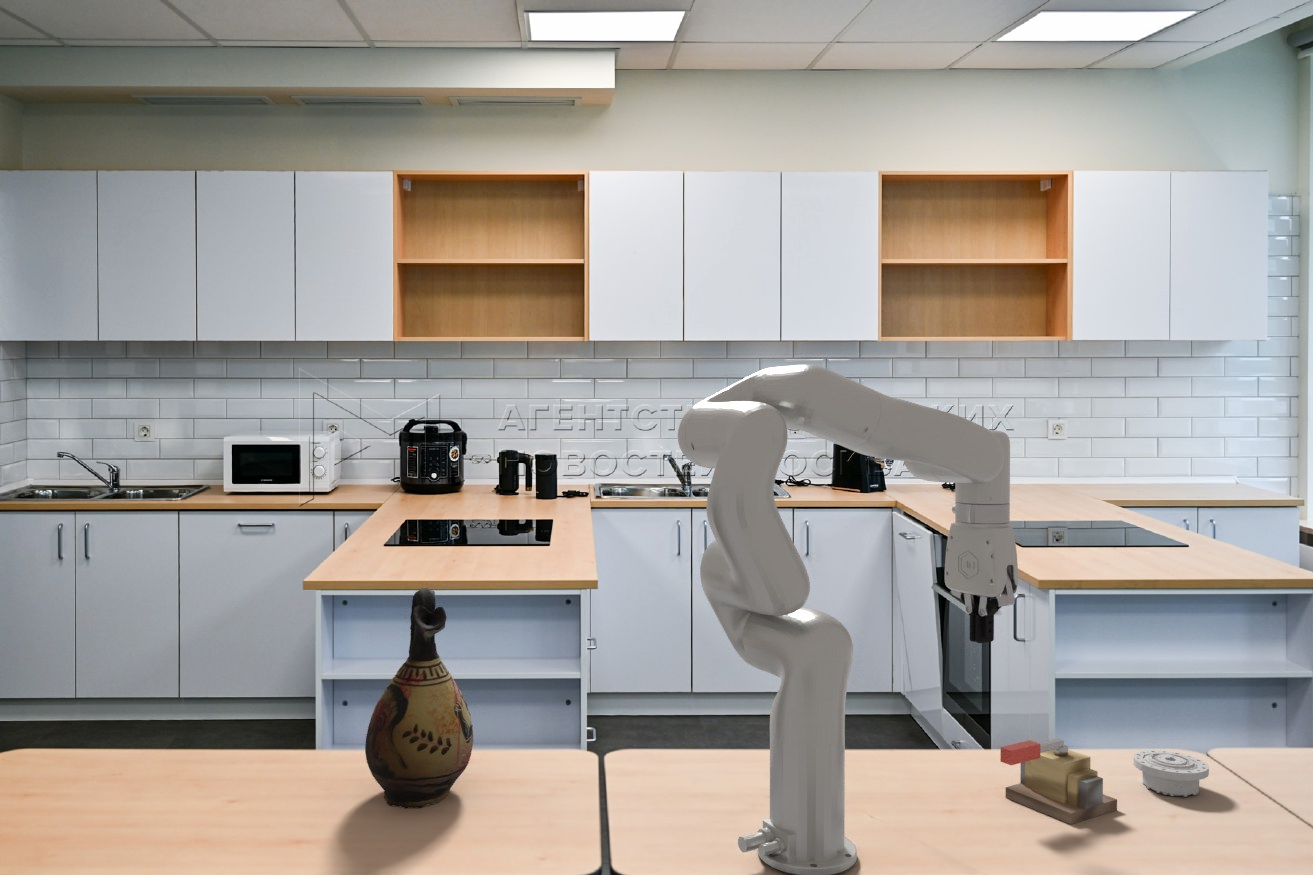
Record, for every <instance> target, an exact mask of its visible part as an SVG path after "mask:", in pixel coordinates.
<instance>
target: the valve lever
mask: <svg viewBox="0 0 1313 875" xmlns="http://www.w3.org/2000/svg"><path fill="white" fill-rule="evenodd" d="M1064 743H1065V740H1064V739H1061V738H1058V737H1057V738H1054V739H1050V740H1045V741H1041V742H1036V741H1034V740H1024V741H1021V742H1017V743H1012V744H1008V745H1004V746H1000V757H999V758H1000V762H1001V763H1003V764H1007V765H1009V766H1015V765H1018V764H1021V763H1023V762H1027V761H1031V760H1035V759H1039V758H1040V753H1043V752H1047V751H1051V750H1053V753H1054V754H1057V755H1063V756H1064V755H1068V750H1069V746H1068V745H1066V744H1064Z"/></svg>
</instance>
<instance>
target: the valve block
mask: <svg viewBox="0 0 1313 875" xmlns="http://www.w3.org/2000/svg"><path fill="white" fill-rule="evenodd" d="M1019 779H1020V783H1015V784H1012V785H1009V786H1006V787H1005V798H1006V799H1009V800H1011V801H1013V802H1016V803H1018V804H1021V805H1022V806H1025V807H1028V808H1030V809H1032V810H1036V811H1038V812H1040V813H1043V814H1045V815H1047V816H1050V817H1052V818H1054V819H1056V820H1059V821H1062V822H1064V823H1067V824H1069V825H1073V824H1076V823H1080V822H1083V821H1086V820H1090V819H1093V818H1095V817H1099V816H1101V815H1106V814H1109V813H1112V812H1114V811H1118V799H1117V798H1114V797H1112V796H1109V795H1106V794H1104V792H1103V790H1104V778H1103V777H1100V776H1098V770H1096V769H1095V770H1094V769H1092V768H1091V756H1088V755H1085V754H1082V753H1080V752H1076V751H1074V750H1071V749H1068V755H1064V756H1063V755H1057V754H1054V753H1053V750H1051V751H1047V752H1043V753H1040V758H1039V759H1035V760H1031V761H1027V762H1023V763H1020V778H1019Z"/></svg>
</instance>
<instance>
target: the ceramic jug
mask: <svg viewBox="0 0 1313 875" xmlns="http://www.w3.org/2000/svg"><path fill="white" fill-rule="evenodd" d="M435 595H436V593H435V591H434V590H433V589H429V588H428V587H422V588H420V589H419V590H417V591H415V593H414V594H413V596H412V600H411V603H412V604H411V612H410V617H409V618H410V626H409V628H410V640H409V648H408V657H407V658H406V660H405V662H403V664H401V666H400V668H399V669H398V670H397V672H396V674H395V675H394V676H393V677H392V678H391V679H390V681H389V683H388V684H387V686H386V688H385V689H384V691H383V692H382V694H381V696H380V698H379V700H377V701H378V702H376V705H375V706H374V708H373V711H372V715H371V717H370V720H369V724H368V727H367V731H366V736H365V745H364V746H365V748H364V749H365V751H364V752H365V759H366V763H367V766H368V769H369V772H370V773H371V776H372V777H373V779H374V780H375V781H376V782H377V783H378V784H379V786H380V787H381V788H382V789H383V792H384V793H383V794H384V795H383V798H384V801H385V803H386V805H388V806H389V807H391V806H392V807H399V808H400V807H401V808H403V809H422V808H424V807H426V806H432V805H436V804H439V803H440V802H442V801H443V800H445V799H446V798H447V796H448V795H449V793H450V790H451V789H452V787H453V785H454V784H455V783H456V781H457V780H458V779H459V777H460V776H461V775H462V774H463V773H464V771H465V770H466V768H467V766H468V765H469V763H470V759H471V755H472V751H473V746H474V730H473V729H474V728H473V727H474V726H473V723H472V722H473V721H472V719H471V713H470V710H469V708H468V703H467V702H466V700H465V698H464V694H463V693H462V691H461V690H460V688H459V686H458V684H457V683H456V681H455V679H454V677H453V675H452V674H451V672H450V671H449V670H448V668H446V665H445V664H444V663H443V661H442V659H441V656H440V655H439V654H438V651H437V644H436V640H435V638H436V637H435V636H436V634H439V633H440V632H441V631H442V630H444V629H445V628H446V621H447V614H446V611H445V608H444V607H443V606H437V607H436V597H435Z"/></svg>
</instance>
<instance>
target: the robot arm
mask: <svg viewBox="0 0 1313 875" xmlns="http://www.w3.org/2000/svg"><path fill="white" fill-rule="evenodd" d="M788 430H796V431H800V432H805V433H809V434H810V435H813V436H815V437H818V438H821V439H823V440H825V441H829V442H831V443H834V444H836V445H839V446H841V447H843V448H845V449H848V450H850V451H853V452H855V453H857V454H861V455H864V456H868V457H873V458H877V459H883V460H891V461H903V464H904V466H905V468H906V469H907V470H908V472H909V473H910V474H911V475H912V476H914V477H915V478H917V479H920V480H923V481H927V482H935V483H952V484H955V488H954V493H955V495H954V497H955V499H954V500H955V504H954V505H953V506H952V508H951V511H952V513H953V514H955V521H954V522H951V524H950V527H949V531H948V534H947V541H946V547H945V548H946V549H945V558H944V559H945V560H944V562H945V563H944V583H945V586H946V587H947V588H948V589H949V590H950V594H951V595H952V596H954V597H956V598H958V599H960V600H961V602H963V604H964V606H965V611H966V613H967V614H969V642H974V643H976V644H977V643H978V644H984V643H991V642H993V641H994V639H995V615H998V614H999V610H1000V609H1001V608H1002V607H1007V606H1014V605H1015V603H1016V600H1015V595H1014V594H1015V593H1016V592H1017V590H1018V582H1019V567H1018V553H1017V552H1018V551H1017V545H1016V538H1015V533H1014V529H1013V526H1012V525H1011V519H1010V518H1011V517H1010V516H1011V515H1010V514H1011V506H1010V505H1011V504H1010V502H1011V500H1010V496H1011V494H1010V492H1011V490H1010V489H1011V441H1010V437H1009V436H1008V434H1007V433H1006V432H1004V431H1001V430H990V429H988V428H987V427H984V426H982V425H980V424H978V423H976V422H973V421H972V420H969V419H967V418H965V417H962V416H960V415H956V414H954V413H952V412H951V413H950V412H947V411H944V410H942V409H938V408H933V407H929V406H925V405H921V404H917V403H915V402H912V401H908V400H905V399H901V398H897V397H893V396H890V395H887V394H884V393H881V392H880V391H877V390H874V389H872V388H870V387H868V386H866V385H863V384H861V383H859V382H857V381H855V380H852V379H850V378H848V377H846V376H844V375H841V374H839V373H837V372H836V371H833V370H830V369H828V368H825V367H823V366H820V365H815V364H793V365H782V366H774V367H767V368H764V369H761V370H759V371H757V372H755V373H752V374H750V375H749V376H745V377H744V378H743V379H741V380H739V381H737V382H735V383H733V384H731V385H730V386H727V387H726V388H724V389H722V390H720V391H718V392H716V393H715V394H712V395H710V396H708V397H706V398H704V399H703V400H701V401H699V402H698V403H696V404H695V405H693V406H691V408H690V409H689V410H687V411H686V413H685V414H684V415H683V416H682V419H681V420H680V423H679V426H678V429H677V441H678V446H679V448H680V451H681V452H682V454H683V456H685V458H686V459H687V460H688V461H690V463H692V464H694V465H696V466H698V467H702V468H706V469H714V471H713V475H712V477H711V478H712V479H711V481H710V485H709V489H708V492H707V493H708V494H707V498H706V499H707V500H706V518H707V521H708V524H709V527H710V529H711V533H712V535H713V536H714V539H715V540H713V541H712V542H711V543H710V544H709V545H708V546H707V547H706V549H705V551H704V553H703V555H702V557H701V560H700V565H699V566H700V567H699V572H700V573H699V574H700V575H699V576H700V581H701V587H702V591H703V592H704V595H705V596H706V600H707V601H708V603H709V605H710V607H711V609H712V611H713V612H714V615H715V616H716V619H717V620H718V621H719V623H720V625H721V628H722V629H723V632H724V633H725V635H726V637H727V639H728V640H729V643H730V644H731V645H732V647H733V649H734V650H735V652H736V654H737V655H738V656H739V657H740V658H741V660H742V661H744V662H745V663H746V664H747V665H749V666H751V667H752V668H754V669H757V670H760V671H762V672H766V673H768V674H771V675H772V676H773V675H774V676H775V677H778V678H780V679H781V680H780V685H779V689H778V690H777V693H776V695H775V697H774V699H773V702H772V705H771V709H770V715H769V818H766V819H765V818H764V819H762V828H760V829H758V831H757V832H756V833H748V834H745V835H741V836H738V839H737V845H738V848H739V850H740V851H741V852H742V853H748V852H751V851H755V850H757V854H758V857H759V858H760V860H762V861H763V862H764V864H766V865H768V866H769V867H771V868H773V869H776V870H779V871H780V872H784V873H787V874H792V875H836V874H839V873H843V872H845V871H847V870H849V869H850V868H851V867H853V866H854V865H855V864H856V862H857V858H858V857H857V856H858V855H857V854H858V853H857V852H858V850H857V847H856V844H854V842H853V841H852V840H850V839H849V838H848V837H847V836H845V814H846V813H845V802H846V800H845V799H846V797H845V796H846V794H845V793H846V792H845V791H846V790H845V789H846V788H845V786H846V785H845V784H846V783H845V779H846V776H845V774H846V773H845V767H846V764H845V763H846V756H845V754H846V752H845V750H846V748H845V745H846V744H845V743H846V742H845V741H846V739H845V737H846V734H845V732H846V731H845V729H846V722H845V721H846V698H847V692H848V685H849V679H850V675H851V671H852V665H853V659H854V658H853V657H854V646H853V640H852V637H851V634H850V632H849V631H848V629H847V628H846V627H845V625H843V623H842V622H841V621H839V620H838V619H837V618H836V617H834V616H832V615H831V614H828V613H826V612H823V611H820V610H817V609H814V608H809V607H805V606H804V605H805V604H806V602H807V600H808V598H809V595H810V591H811V585H810V584H811V582H810V577H809V573H808V570H807V568H806V565H805V563H804V561H803V559H802V557H801V555H800V553H799V551H798V549H797V547H796V545H795V542H794V540H793V539H792V537H791V535H790V534H789V530H788V529H787V527H786V525H785V523H784V521H783V519H782V517H781V514H780V512H779V509H778V506H777V504H776V501H775V494H774V492H775V491H774V490H775V482H776V477H777V474H778V470H779V467H780V465H781V462H782V459H783V458H784V455H785V453H786V449H787V445H788V439H789V438H788V437H789V436H788Z"/></svg>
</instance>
